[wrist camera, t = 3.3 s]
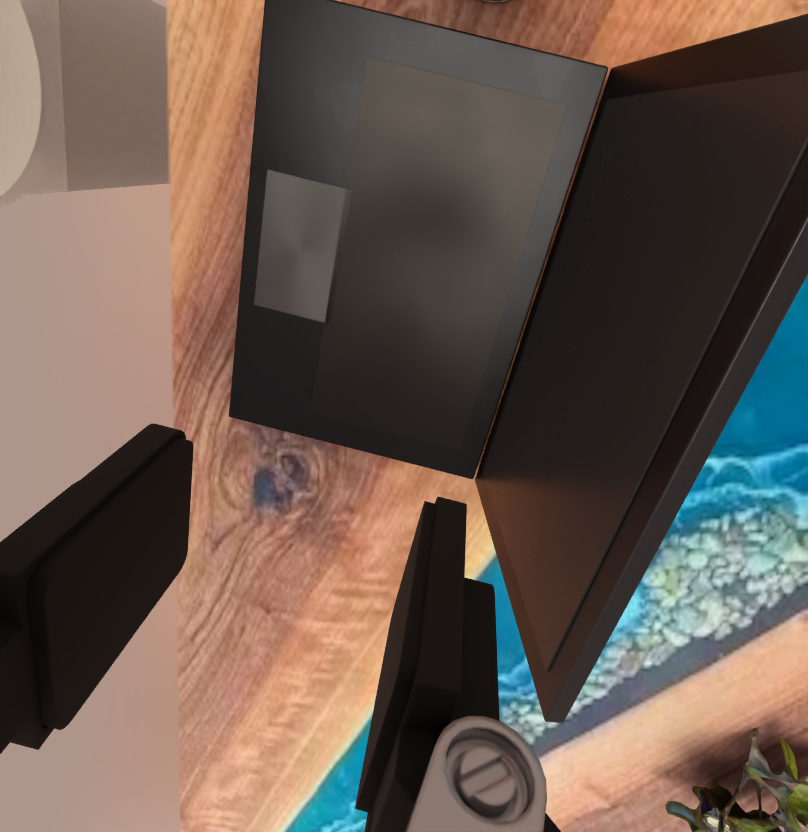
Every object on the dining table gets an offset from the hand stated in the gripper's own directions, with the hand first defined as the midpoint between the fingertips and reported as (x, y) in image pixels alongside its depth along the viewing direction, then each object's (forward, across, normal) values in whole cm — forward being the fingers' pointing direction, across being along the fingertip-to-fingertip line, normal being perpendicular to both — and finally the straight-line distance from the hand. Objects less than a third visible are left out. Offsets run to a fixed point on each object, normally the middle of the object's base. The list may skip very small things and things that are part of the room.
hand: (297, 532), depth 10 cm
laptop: (+25, +2, 0) cm, 25 cm away
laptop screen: (+15, -8, 0) cm, 17 cm away
